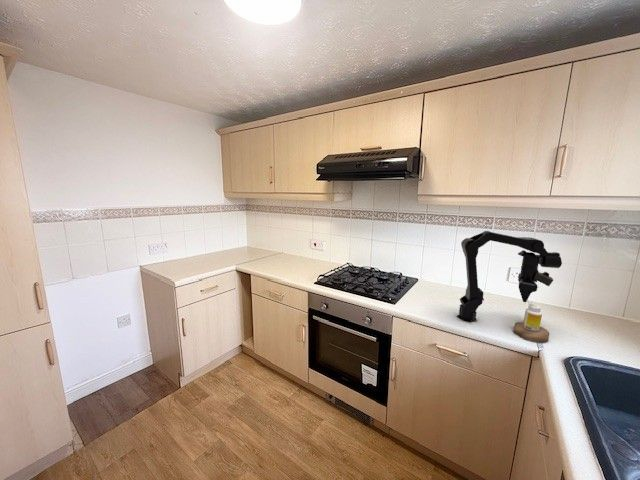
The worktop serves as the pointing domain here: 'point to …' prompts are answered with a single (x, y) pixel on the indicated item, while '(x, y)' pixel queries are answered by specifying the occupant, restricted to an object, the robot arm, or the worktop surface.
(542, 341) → the walnut platform
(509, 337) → the worktop surface
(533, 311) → the supplement bottle
